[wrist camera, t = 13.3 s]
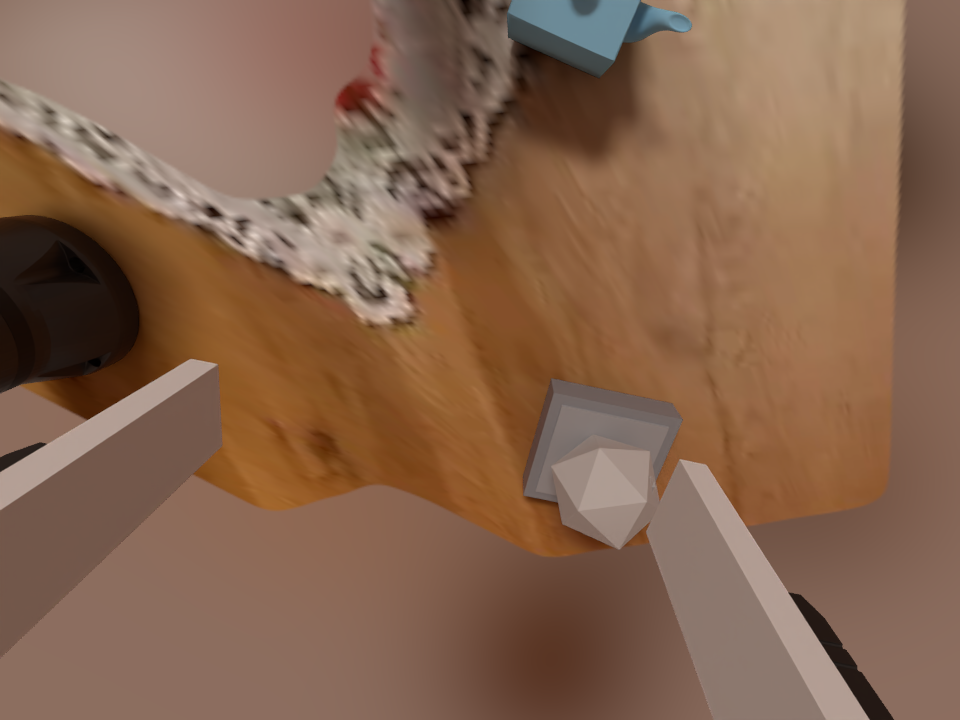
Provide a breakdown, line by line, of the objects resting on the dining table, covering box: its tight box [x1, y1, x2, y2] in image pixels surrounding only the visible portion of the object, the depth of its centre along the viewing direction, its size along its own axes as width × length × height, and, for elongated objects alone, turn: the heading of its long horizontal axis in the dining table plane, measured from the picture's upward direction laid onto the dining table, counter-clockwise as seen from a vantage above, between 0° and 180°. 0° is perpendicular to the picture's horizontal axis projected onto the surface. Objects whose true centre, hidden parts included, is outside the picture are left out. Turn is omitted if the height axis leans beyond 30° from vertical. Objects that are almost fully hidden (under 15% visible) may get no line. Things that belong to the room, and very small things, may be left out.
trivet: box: [523, 378, 683, 502], centre depth 44 cm, size 12×12×3 cm
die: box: [551, 434, 660, 550], centre depth 39 cm, size 8×9×10 cm
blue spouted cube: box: [507, 0, 692, 78], centre depth 28 cm, size 12×6×8 cm, turn 69°
